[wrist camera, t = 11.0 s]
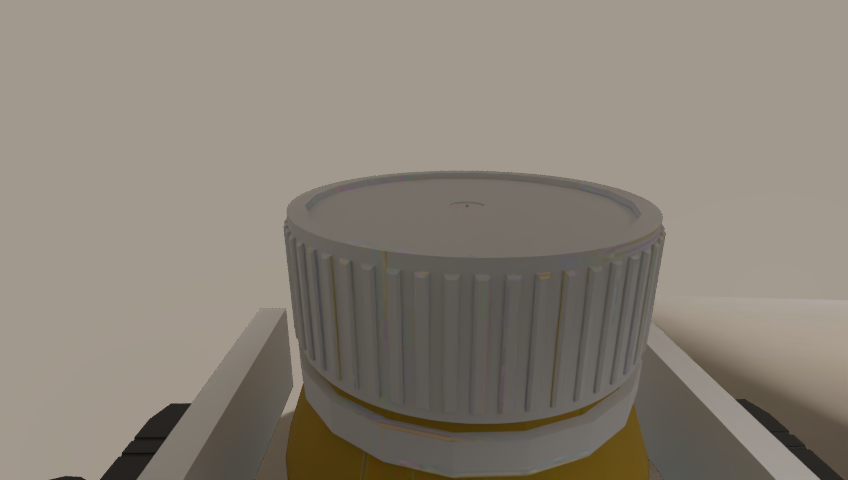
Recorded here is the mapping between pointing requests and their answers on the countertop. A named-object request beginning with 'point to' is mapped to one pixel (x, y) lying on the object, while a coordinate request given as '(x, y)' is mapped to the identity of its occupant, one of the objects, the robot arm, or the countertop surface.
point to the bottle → (470, 327)
